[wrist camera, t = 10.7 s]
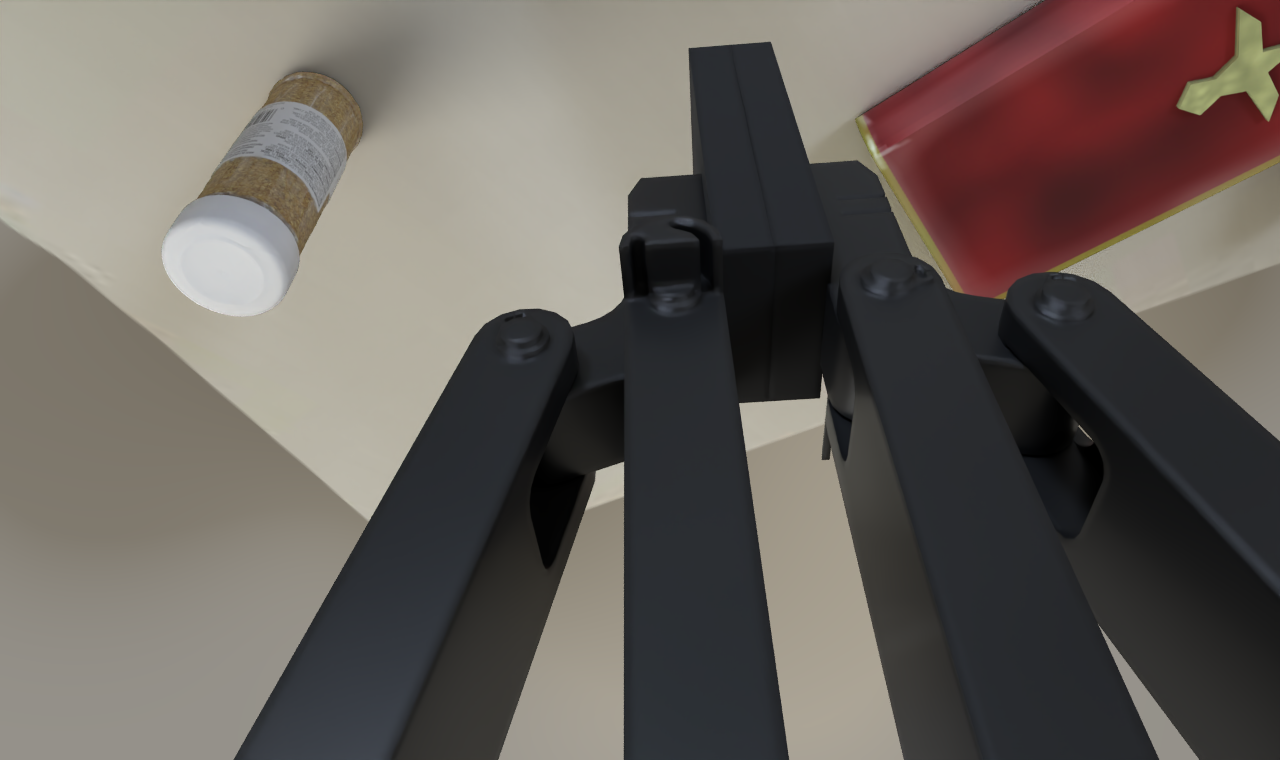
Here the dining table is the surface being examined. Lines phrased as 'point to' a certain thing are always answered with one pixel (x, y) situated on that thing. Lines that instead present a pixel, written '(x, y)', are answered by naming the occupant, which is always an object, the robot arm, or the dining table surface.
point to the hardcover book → (1079, 131)
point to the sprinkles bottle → (264, 198)
